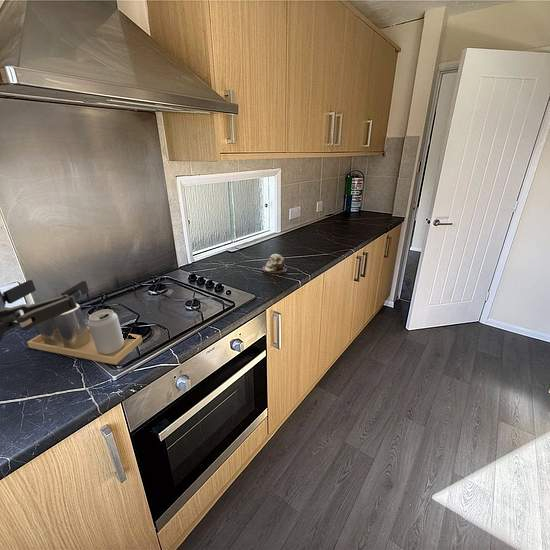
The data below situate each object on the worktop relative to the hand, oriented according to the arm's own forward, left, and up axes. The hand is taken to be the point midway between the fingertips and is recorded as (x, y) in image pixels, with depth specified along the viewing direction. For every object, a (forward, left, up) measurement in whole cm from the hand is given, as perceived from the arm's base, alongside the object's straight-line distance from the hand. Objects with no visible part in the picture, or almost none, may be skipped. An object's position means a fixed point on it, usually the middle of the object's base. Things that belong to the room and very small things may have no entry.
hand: (59, 285), depth 69 cm
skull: (+29, +81, -26) cm, 89 cm away
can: (-2, +10, -26) cm, 27 cm away
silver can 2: (-15, +10, -26) cm, 31 cm away
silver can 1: (-23, +10, -26) cm, 35 cm away
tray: (-11, +10, -26) cm, 30 cm away
